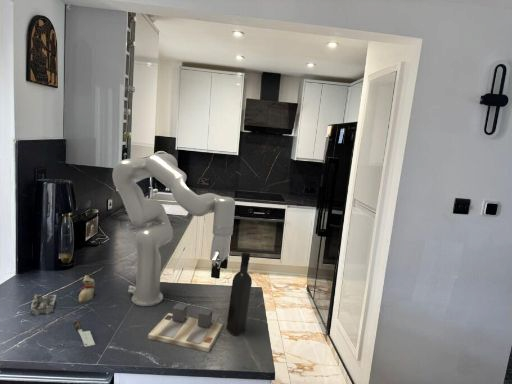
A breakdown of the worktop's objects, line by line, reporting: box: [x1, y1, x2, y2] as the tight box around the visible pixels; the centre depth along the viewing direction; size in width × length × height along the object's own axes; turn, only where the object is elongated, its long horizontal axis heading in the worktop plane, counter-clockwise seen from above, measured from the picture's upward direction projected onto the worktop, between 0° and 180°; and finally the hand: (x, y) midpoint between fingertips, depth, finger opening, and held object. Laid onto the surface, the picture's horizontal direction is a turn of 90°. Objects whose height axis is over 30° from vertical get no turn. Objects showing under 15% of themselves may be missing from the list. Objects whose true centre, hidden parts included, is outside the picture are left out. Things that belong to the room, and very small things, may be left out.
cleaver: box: [73, 319, 96, 348], centre depth 116 cm, size 17×1×5 cm
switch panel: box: [147, 312, 223, 353], centre depth 121 cm, size 22×15×2 cm
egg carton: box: [30, 293, 57, 316], centre depth 128 cm, size 11×8×4 cm
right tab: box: [197, 307, 213, 328], centre depth 123 cm, size 4×4×5 cm
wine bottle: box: [226, 251, 253, 336], centre depth 123 cm, size 6×6×30 cm
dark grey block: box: [172, 302, 188, 322], centre depth 125 cm, size 4×4×5 cm
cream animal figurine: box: [77, 275, 96, 304], centre depth 137 cm, size 6×8×10 cm
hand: (219, 272), depth 128 cm, fingers open, 9 cm apart
